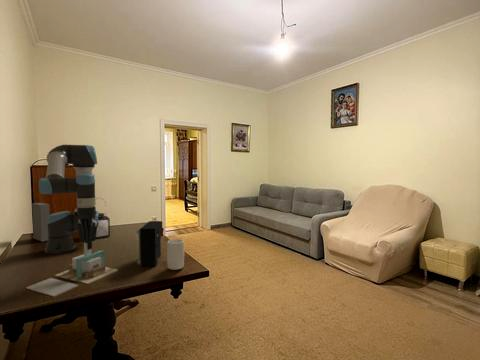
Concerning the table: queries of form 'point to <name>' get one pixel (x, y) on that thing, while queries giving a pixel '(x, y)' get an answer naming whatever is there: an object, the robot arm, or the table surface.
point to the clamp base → (87, 274)
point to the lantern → (103, 226)
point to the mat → (52, 287)
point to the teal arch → (79, 260)
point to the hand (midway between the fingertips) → (88, 255)
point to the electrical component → (150, 243)
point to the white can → (175, 254)
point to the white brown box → (87, 264)
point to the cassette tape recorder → (40, 221)
